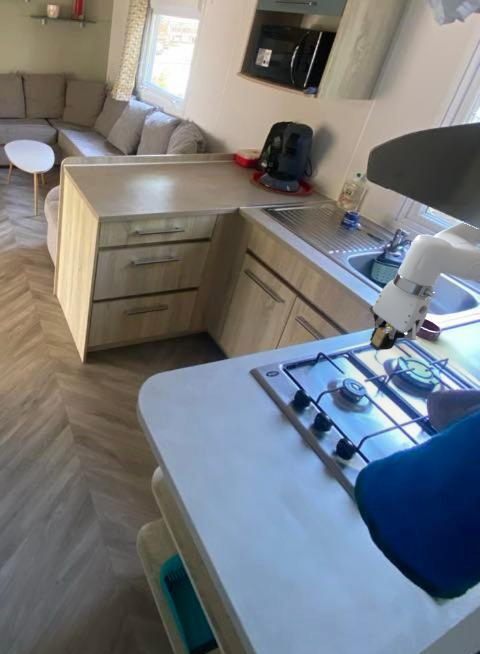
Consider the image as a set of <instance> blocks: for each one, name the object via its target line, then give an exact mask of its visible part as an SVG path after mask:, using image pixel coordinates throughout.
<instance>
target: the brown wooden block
mask: <svg viewBox="0 0 480 654" xmlns="http://www.w3.org/2000/svg"><path fill="white" fill-rule="evenodd" d="M391 329H392V328H390V327H383V328H378V329H377V331H376V333H375V335H374V337H373V339H372V341H371V340H370V342H369V346H370V347H372V348H373V349H374V350H375V351H383V350H382V349H380V345H381V344H382V342H383V340H384V338H385V336H389V333H390V331H391ZM386 350H387V349H385V351H386Z"/></svg>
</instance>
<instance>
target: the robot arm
mask: <svg viewBox="0 0 480 654" xmlns="http://www.w3.org/2000/svg"><path fill="white" fill-rule="evenodd" d="M478 245H480V229H476V228H474V227H472V226H469V225H467V224H464V223H461V222H458V223H456V224H454V225H452V226H450V227H447V228H445V229H443V230H441V231H439V232H438V233H436V234H435V235H431V234H419V235H417V236H416V237H414V239H413V241H412V242H411V243H410V246H409V248H408V250H407V252H406V253H405V256H404V257H403V261H402V262H401V264H400V266H399V268H398V270H397V271H396V274H395V276H394V277H393V279H390V280H389V281H388V283H386V285H385V286H384V287H383V289H382V290H381V291H380V293H379V295H378V296H377V297H376V300H375V301H374V303H373V305H372V306H370V307H369V309H368V310H369V312H370V314H371V315H372V316H373V319H374V324H373V327H374V326H375V327H376V328H375V330H374V329H373V331H372V333H371V336H370V339H369V340H370V342H371V341H372V339H373V337H374V335H375V333H376V331H377V329H378V328H383V327H386V326H387V324H388V323H389V324H390V325H391V326H393V327H392V329H391V331H390V333H389V336H385V338H384V340H383V342H382V344H381V345H380V349H382V350H381V351H384V350H385V349H386V350H391V349H392V348H393V347H394V346H395V344H396V342H397V340H398V339H404V340H407V341H416V340H417V335H416V332H418V331H419V330H420V328H421V326H422V324H423V322H424V320H425V318H426V319H427V315H428V312H429V309H430V306H431V301H432V298H435V297H436V295H437V293H436V292H435V291H434V288H435V285H436V283H437V282H438V279H439V278H440V276H441V274H446V275H449V276H452V277H455V278H458V279H462V280H465V281H471V282H473V281H475V282H476V281H480V248H479V247H478ZM386 350H385V351H386Z"/></svg>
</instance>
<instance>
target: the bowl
mask: <svg viewBox="0 0 480 654" xmlns="http://www.w3.org/2000/svg"><path fill="white" fill-rule="evenodd" d="M442 333H443V328H442V327H441V326H440V325H439V324H437V323H436V322H435V321H433V320H431V319H428V318H427V317H426V318H425V320H424V322H423V324H422V326H421V328H420V330H419V331H418V332H416V337H419V338H422V339H424V340H427V341H436V340H438V339H439V338H440V337H441V334H442Z"/></svg>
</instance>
